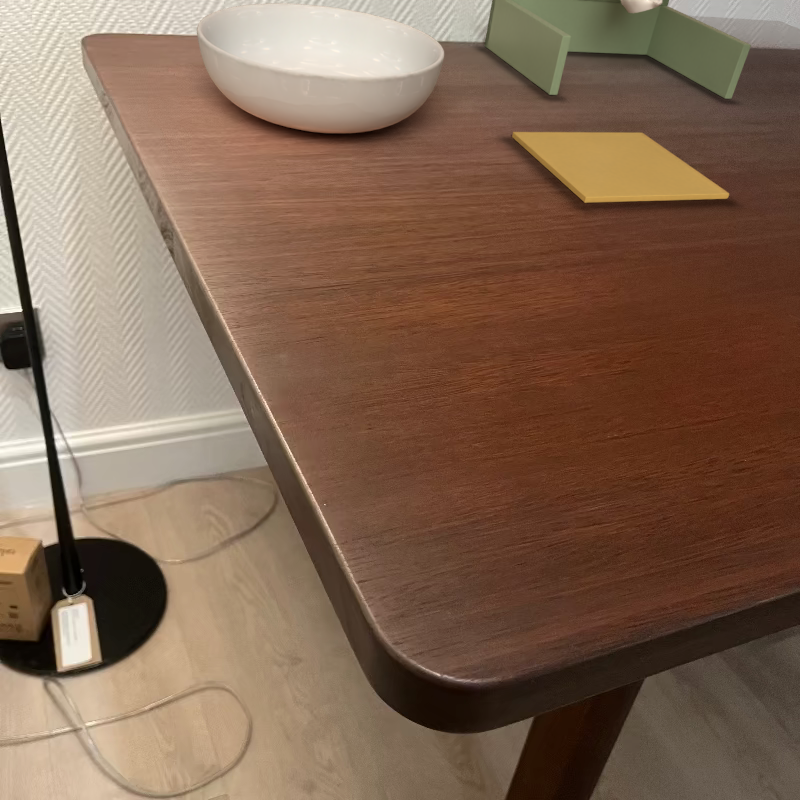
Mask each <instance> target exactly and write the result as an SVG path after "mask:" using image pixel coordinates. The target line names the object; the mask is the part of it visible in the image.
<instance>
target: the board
mask: <svg viewBox="0 0 800 800" xmlns="http://www.w3.org/2000/svg"><path fill="white" fill-rule="evenodd" d="M511 138H512V139H514V140H515V141H516V142H517V143H518V144H519V145H520V146H521V147H522V148H524V149H525V151H527V152H528V153H529V154H530V155H531V156H533V157H534V158H535V159H536V160H537V161H538V162H539V163H540V164H541V165H542V166H543V167H544V168H546V170H548V171H549V172H550V173H551V174H552V175H553V176H554V177H555V178H557V179H558V180H559V181H560V182H561V184H563V185H564V186H565V187H566V188H567V189H568V190H570V191H571V192H572V193H573V194H574V195H575V196H577V198H579V199H580V200H581V201H582V202H583V203H584V204H587V203H588V204H589V203H627V202H629V203H631V202H662V201H664V202H665V201H698V200H727V199H728V198H729V196H730V193H729V191H727V190H725V189H724V188H722V187H721V186H719V184H716V183H715V182H713V181H712V180H711V179H709V178H708V177H706V176H705V175H704V174H702V173H701V172H699V171H698V170H696V169H695V168H694V167H692V166H690V165H689V164H688V163H686V161H684V160H682V159H681V158H680V157H677V155H675V154H674V153H672V152H670V150H668V149H666V148H665V147H664V146H662V145H661V144H659V143H658V142H656V141H655V140H653V139H652V138H650V136H648V135H646V134H645V133H643V132H623V131H622V132H616V131H615V132H611V131H609V132H607V131H603V132H601V131H599V132H595V131H591V132H587V131H586V132H584V131H513V132H512V137H511Z"/></svg>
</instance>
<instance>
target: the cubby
mask: <svg viewBox="0 0 800 800" xmlns="http://www.w3.org/2000/svg"><path fill="white" fill-rule="evenodd" d="M669 3H670V0H662V4H661V5H660V6H658V7H656V8H653V9H650V10H646V11H642V12H638V13H628V11H627V10H626V9H625V7H624V6H623V5H622V4H621V0H491V5H490V10H489V16H488V22H487V23H488V24H487V27H486V28H487V29H486V32H485V33H486V34H485V38H484V43H483V44H484V47H485V48H486V49H488V50H489V51H490V52H492V53H493V54H494V55H496V56H497V57H498V58H500V60H502V61H504V62H505V63H506V64H508V66H510V67H512V68H513V69H514V70H516V71H517V72H518V73H520V75H522V76H524V77H525V78H527V80H529V81H530V82H532V84H534V85H536V86H537V87H538V88H539V89H541V90H543V92H544V93H546V94H547V95H548V96H558V94H559V89H560V85H561V82H562V76H563V73H564V68H565V65H566V61H567V56H568V52H570V53H591V54H592V53H593V54H594V53H597V54H617V55H619V54H621V55H640V56H641V55H643V56H648V57H650V58H652V59H654V60H655V61H656V62H659V63H660V64H662V65H664V66H666V67H667V68H670V69H671V70H673V71H675V72H676V73H678V74H680V75H682V76H684V77H685V78H687V79H689V80H691V81H692V82H694V83H696V84H698V85H700V87H701V86H702V87H703V88H705V89H706V90H708V91H711V92H712V93H715V94H716V95H717V96H719V97H721V98H723V99H725V100H732V98H733V96H734V93H735V90H736V88H737V85H738V82H739V79H740V77H741V75H742V71H743V69H744V65H745V63H746V60H747V57H748V55H749V53H750V50H751V47H752V44H751V43H748V42H746V41H744V40H742V39H740V38H737V37H735V36H733V35H731V34H729V33H727V32H725V31H722V30H720V29H718V28H716V27H713V26H712V25H709V24H707V23H705V22H703V21H702V20H701V21H700V19H699V20H698V19H696V18H694V17H692V16H690V15H688V14H686V13H683V12H681V11H679V10H677V9H675V8H672V7H670V6H669Z"/></svg>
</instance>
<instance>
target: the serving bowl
mask: <svg viewBox="0 0 800 800" xmlns="http://www.w3.org/2000/svg"><path fill="white" fill-rule="evenodd" d="M196 37H197V43H198V48H199V51H200V56H201V60H202V62H203V65H204V67H205V70H206V72H207V74H208V76H209V78H210V79H211V81H212V82H213V84H214V85H215V86H216V87H217V89H218V90H219V91H220V92H221V93H222V94H223V96H224V97H226V98H227V99H228V100H229V101H230V103H233V104H234V105H235V106H237V108H240V109H241V110H242V111H245V112H246V113H248V114H250V115H253V116H254V117H256V118H259V119H261V120H264V121H266V122H268V123H271V124H275V125H279V126H283V127H286V128H291V129H293V130H294V129H295V130H301V131H305V132H309V133H315V134H356V133H357V134H359V133H365V132H366V133H367V132H371V131H377V130H381V129H384V128H387V127H391V126H394V125H395V124H398V123H400V122H402V121H404V120H405V119H407V118H409V117H411V116H412V115H413V114H414V113H416V112H417V111H418V110H419V109H420V108H421V107H422V106H423V105H424V104H425V102H426V101H427V100H428V99H429V98H430V96H431V94H433V91H434V89H435V87H436V85H437V83H438V81H439V77H440V75H441V72H442V69H443V68H442V67H443V64H444V60H445V50H444V48H443V46H442V45H441V43H440V42H439V41H438V40H436V39H435V38H434V37H432V36H431V35H430V34H428V33H426V32H424V31H423V30H420V29H418V28H416V27H414V26H411V25H409V24H406V23H403V22H401V21H397V20H395V19H392V18H387V17H385V16H381V15H380V16H379V15H376V14H371V13H367V12H364V11H358V10H353V9H347V8H340V7H333V6H326V5H317V4H307V3H306V4H305V3H289V2H288V3H285V2H284V3H283V2H282V3H281V2H280V3H279V2H277V3H275V2H274V3H272V2H271V3H267V2H266V3H253V4H243V5H235V6H230V7H227V8H221V9H219V10H216V11H214V12H211V13H209V14H207V15H205V16H204V17H203V18H202V19H201V20H199V22H198V23H197V26H196Z"/></svg>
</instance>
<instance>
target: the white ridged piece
mask: <svg viewBox="0 0 800 800" xmlns="http://www.w3.org/2000/svg"><path fill="white" fill-rule="evenodd" d="M621 4H622V5H623V6H624V7H625V9H626V10H627V11H628V13H638V12H642V11H646V10H650V9H653V8H656V7H658V6H660V5H661V4H662V0H621Z"/></svg>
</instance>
